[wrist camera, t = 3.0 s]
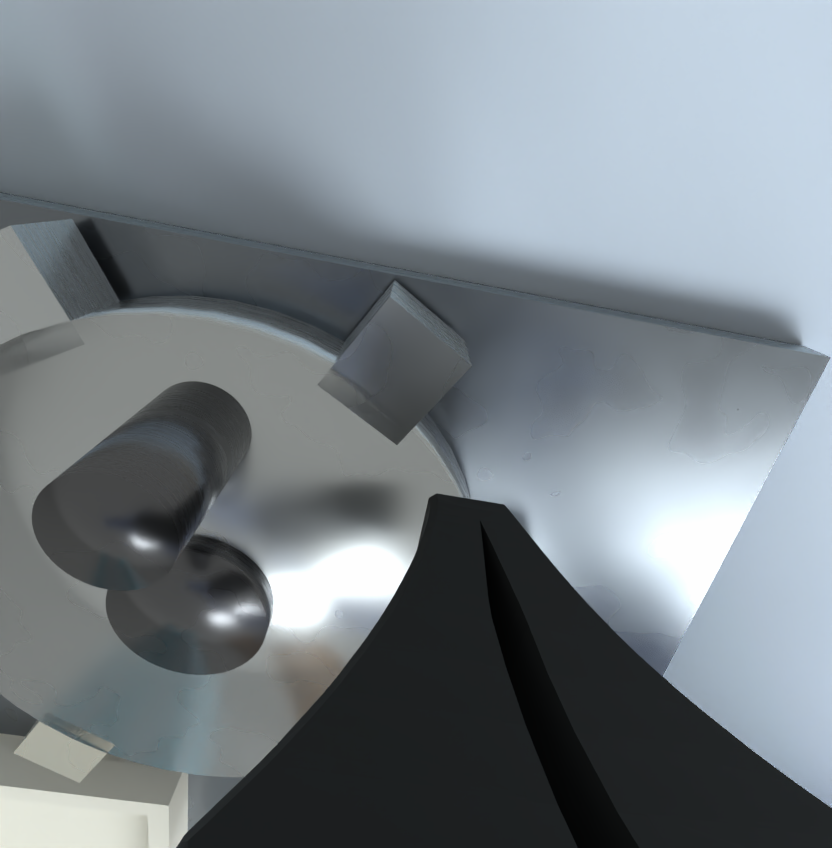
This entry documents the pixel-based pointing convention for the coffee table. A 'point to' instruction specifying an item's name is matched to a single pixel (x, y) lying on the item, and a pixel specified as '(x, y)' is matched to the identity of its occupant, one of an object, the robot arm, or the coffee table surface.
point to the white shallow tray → (89, 804)
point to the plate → (528, 414)
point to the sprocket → (198, 506)
